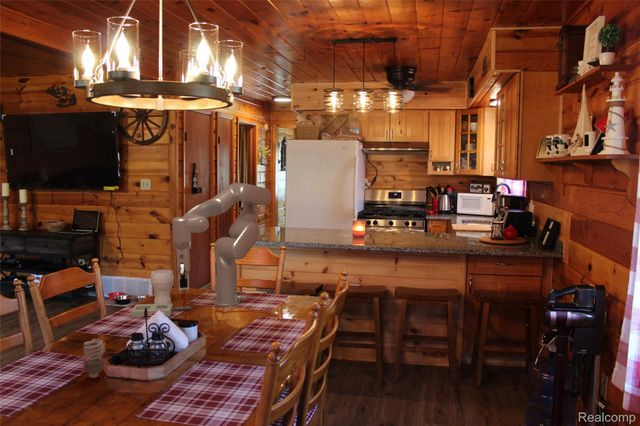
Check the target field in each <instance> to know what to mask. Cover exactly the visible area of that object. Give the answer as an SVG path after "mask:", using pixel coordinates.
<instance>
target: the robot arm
mask: <svg viewBox="0 0 640 426" xmlns="http://www.w3.org/2000/svg"><path fill="white" fill-rule="evenodd" d="M271 201H272V192H271V191H270V189H268V188H266V187H262V186H259V185H254V184H249V183H246V182H245V183H244V182H243V183H242V182H232V183H230V184H229V185H227V187H225V188H224V189H222V190H221V191H220V192H219V193H217V194H216V195H215V196H214V197H212V198H210V199H208V200H206V201H204V202H202V203H200V204H198V205H196V206H194V207H192V208H191V209H190V210H188V211H187V212H186V213H185V214H184V215H183V216H179V217H178V216H177V217H173V219H172V222H171V223H172V225H171V226H172V242H173V250H175V251H176V252H175V253H176V265H177V266H176V267H177V272H178V273H179V272H180V288H187V287H188V285H187V278H186V272H191V255H190V250H191V249H192V233H197V234H198V233H203V232H206V231H207V230H208V228H209V226H210V223H209V222H210V221H209V220H208V218H210V217H214V216H219V215H223V214H224V213H225V212H227V211H228V210H229V209H231V208H232V207H233V206H235V204H236V203H238V202H242V210H241V211H240V214H239V215H238V216H237V218H235V220H234V221H233V223H232V224H231V225H230V227H229V230H228V234H229V236H230V237H227V236H223V237H220V238H219V237H218V239H216V241H215V243H214V245H213V246H214V247H213V252H214V257H215V266H216V267H215V269H216V270H215V275H216V276H215V277H216V279H215V285H216V286H215V288H216V289H215V291H216V298H215V299H213V300H212V304H213V305H214V306H217V307H232V306H237V305H239V304H240V303H241V302H240V300H247V295H245V294H238V292H237V288H238V287H237V274H238V272H237V269H238V268H237V267H238V265H237V262H236V261H237V260H242V259H244V258H245V257H246V256H247V255H248V254H249V252H250V251H251V250H252V248H253V246H254V245H255V244H256V242H257V241H258V239H259V237H260V234H261V230H260V226H259V224H257V220H258V218H259V209H258V206H267V205H268V204H269V203H271ZM184 273H185V274H184Z"/></svg>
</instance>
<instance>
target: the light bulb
mask: <svg viewBox="0 0 640 426" xmlns="http://www.w3.org/2000/svg"><path fill="white" fill-rule="evenodd" d="M82 348H83V351H82V352H83V357H85V358H86V360H85V361H84V363H83V368H84V372H85V373H86V374H89V376H88V377H90V378H91V379H96V378H98V377H99V373H100V372H102V371H103V369H104V360H103V359H102V357H103V356H104V355H103V354H104V343H103V340H101V339H100V338H99V339H98V338H93V339H92V340H91V341H85V342H83V346H82Z"/></svg>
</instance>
